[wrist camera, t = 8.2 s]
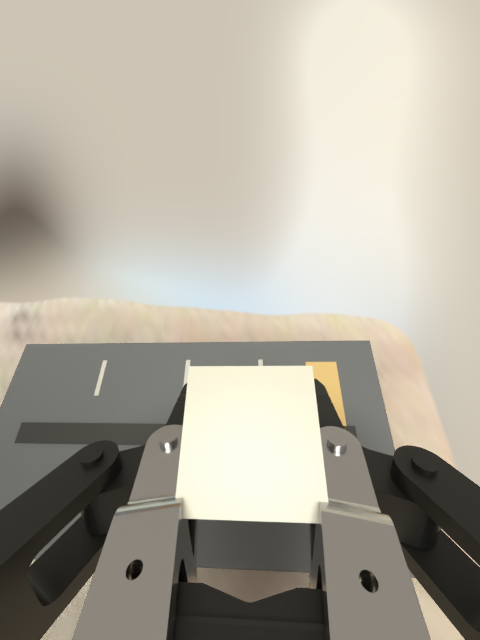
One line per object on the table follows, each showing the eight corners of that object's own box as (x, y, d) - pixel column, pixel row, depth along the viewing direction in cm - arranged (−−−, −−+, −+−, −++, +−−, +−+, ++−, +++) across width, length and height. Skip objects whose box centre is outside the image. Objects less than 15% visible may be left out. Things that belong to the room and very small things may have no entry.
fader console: (-14, 537, 15) (-63, 555, 13) (51, 354, 21) (25, 343, 18) (397, 555, 14) (425, 579, 11) (356, 352, 19) (370, 340, 17)
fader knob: (227, 464, 14) (170, 518, 5) (229, 408, 15) (187, 366, 6) (282, 466, 14) (334, 524, 5) (279, 408, 15) (314, 365, 6)
